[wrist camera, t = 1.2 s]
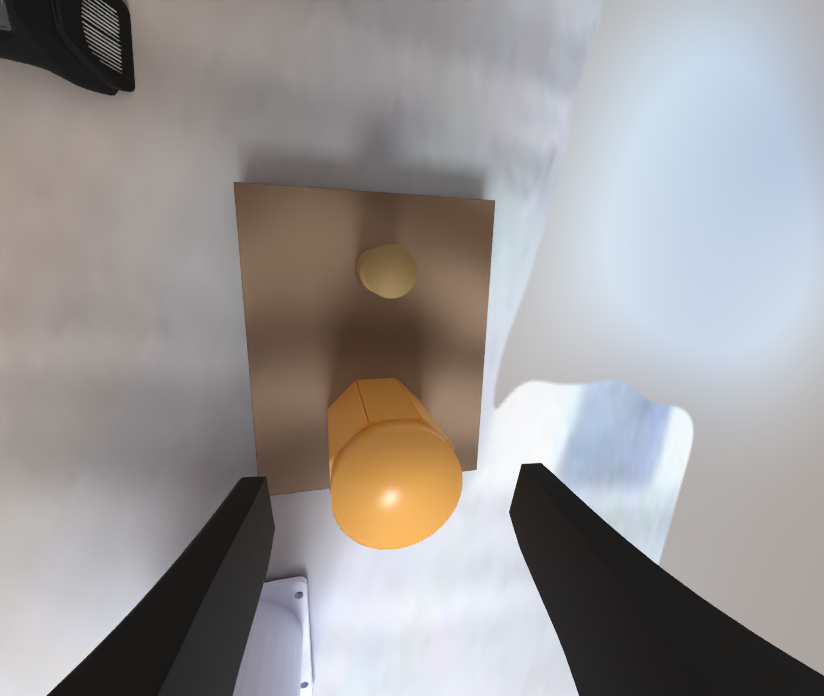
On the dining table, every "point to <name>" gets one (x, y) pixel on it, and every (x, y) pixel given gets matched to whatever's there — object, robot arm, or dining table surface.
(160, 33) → the dining table surface
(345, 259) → the board
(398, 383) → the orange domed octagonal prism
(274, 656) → the robot arm
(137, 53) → the dining table surface
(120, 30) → the electric trimmer
